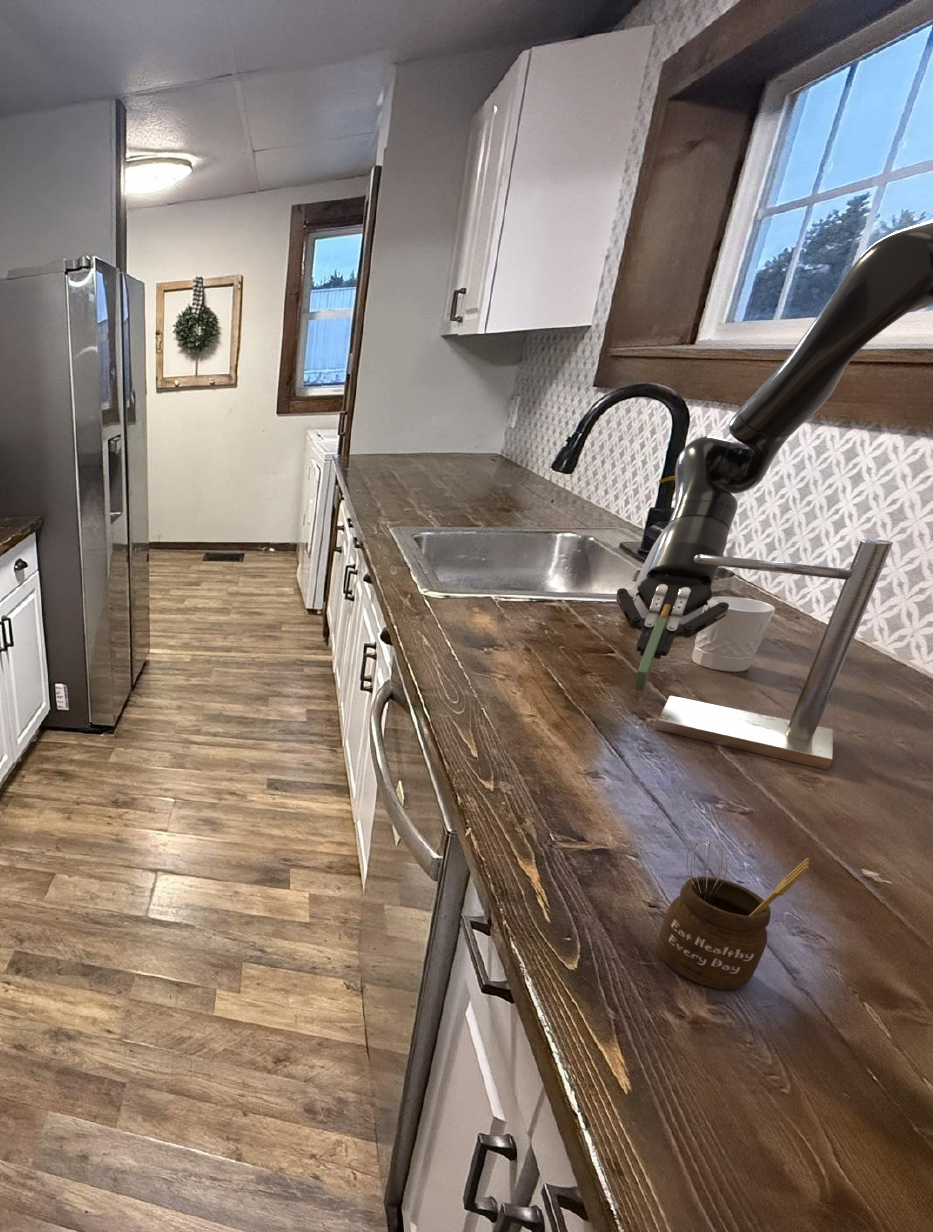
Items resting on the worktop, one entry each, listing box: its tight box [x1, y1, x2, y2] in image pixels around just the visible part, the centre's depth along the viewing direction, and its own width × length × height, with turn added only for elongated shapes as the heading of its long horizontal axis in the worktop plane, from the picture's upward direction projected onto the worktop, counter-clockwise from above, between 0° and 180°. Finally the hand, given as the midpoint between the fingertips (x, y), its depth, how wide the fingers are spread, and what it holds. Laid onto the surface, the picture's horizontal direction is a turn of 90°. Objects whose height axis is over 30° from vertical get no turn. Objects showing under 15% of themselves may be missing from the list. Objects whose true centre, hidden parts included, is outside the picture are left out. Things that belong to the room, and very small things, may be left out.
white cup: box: [691, 595, 776, 673], centre depth 111 cm, size 8×8×10 cm
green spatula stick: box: [634, 604, 671, 692], centre depth 104 cm, size 1×6×12 cm
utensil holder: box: [656, 840, 811, 991], centre depth 56 cm, size 6×6×12 cm
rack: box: [654, 538, 894, 771], centre depth 88 cm, size 18×10×26 cm, turn 44°
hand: (650, 654), depth 103 cm, fingers closed on green spatula stick, 1 cm apart
